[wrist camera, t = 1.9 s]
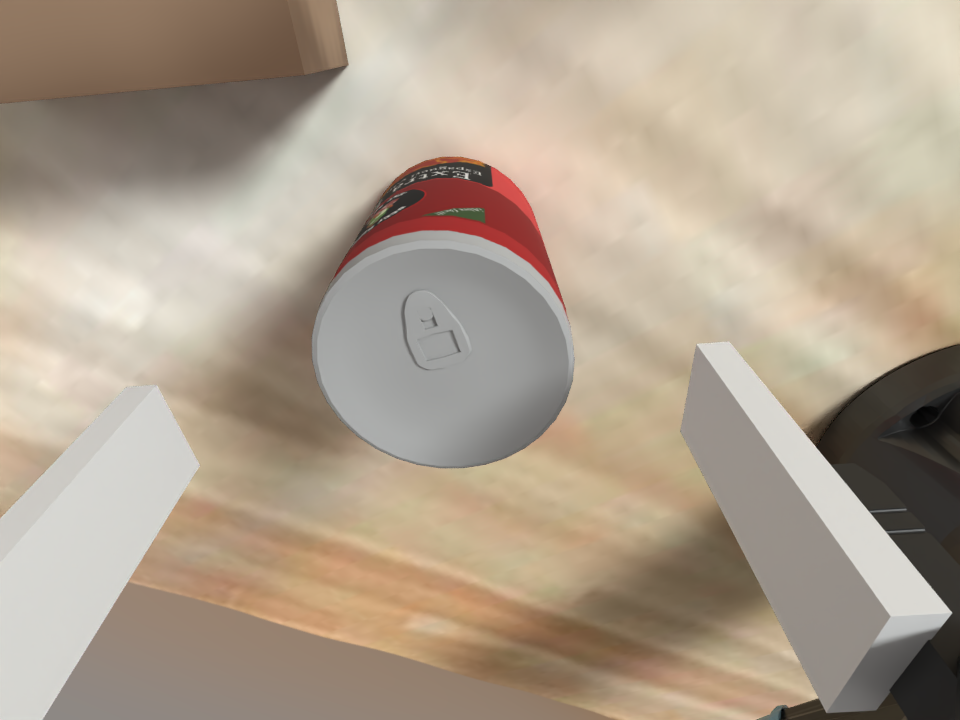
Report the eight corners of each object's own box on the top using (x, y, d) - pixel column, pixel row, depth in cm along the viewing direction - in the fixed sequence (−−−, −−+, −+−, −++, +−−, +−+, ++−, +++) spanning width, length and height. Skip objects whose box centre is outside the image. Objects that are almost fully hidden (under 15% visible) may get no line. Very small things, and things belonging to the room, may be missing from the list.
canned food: (478, 114, 21) (479, 176, 12) (568, 266, 24) (624, 406, 15) (338, 215, 23) (246, 335, 14) (439, 340, 27) (420, 502, 17)
